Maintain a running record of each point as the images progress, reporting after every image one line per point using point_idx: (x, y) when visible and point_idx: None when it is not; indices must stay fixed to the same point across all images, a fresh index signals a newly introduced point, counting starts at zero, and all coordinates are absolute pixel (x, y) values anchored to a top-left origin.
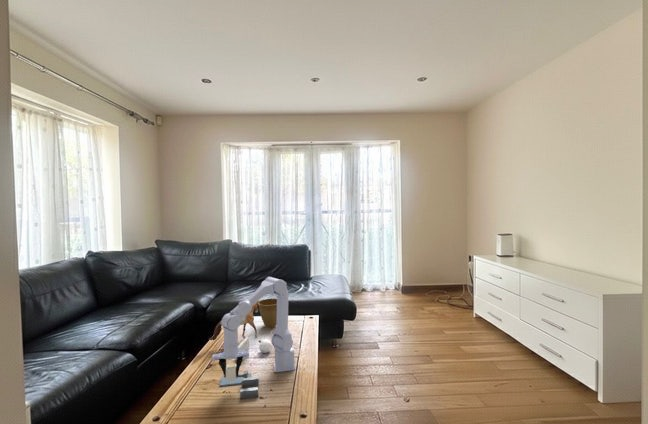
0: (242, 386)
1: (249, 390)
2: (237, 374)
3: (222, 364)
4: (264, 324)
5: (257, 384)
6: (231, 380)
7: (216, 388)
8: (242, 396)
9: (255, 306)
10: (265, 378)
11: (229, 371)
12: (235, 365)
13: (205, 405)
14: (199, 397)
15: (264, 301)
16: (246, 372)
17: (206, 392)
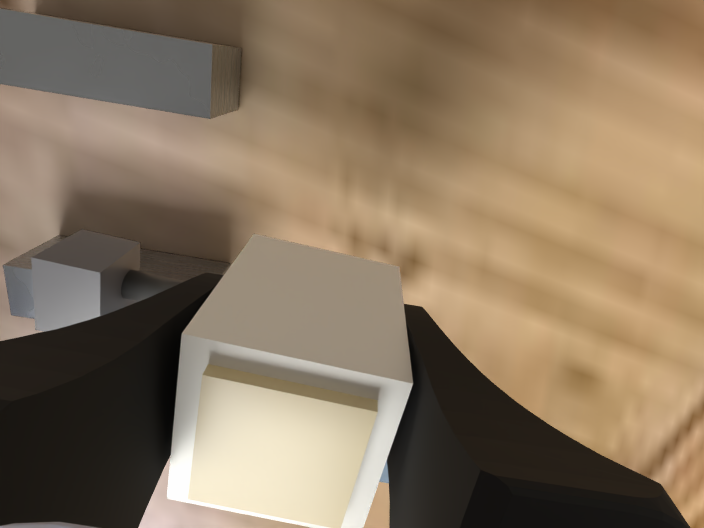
0: (219, 266)
1: (83, 29)
2: (200, 277)
3: (550, 469)
4: None
5: (59, 241)
6: (317, 250)
7: (475, 344)
8: (206, 42)
9: None
10: (5, 332)
11: (332, 332)
12: (196, 448)
13: (632, 82)
14: (658, 258)
15: None
16: (53, 292)
17: (576, 315)
